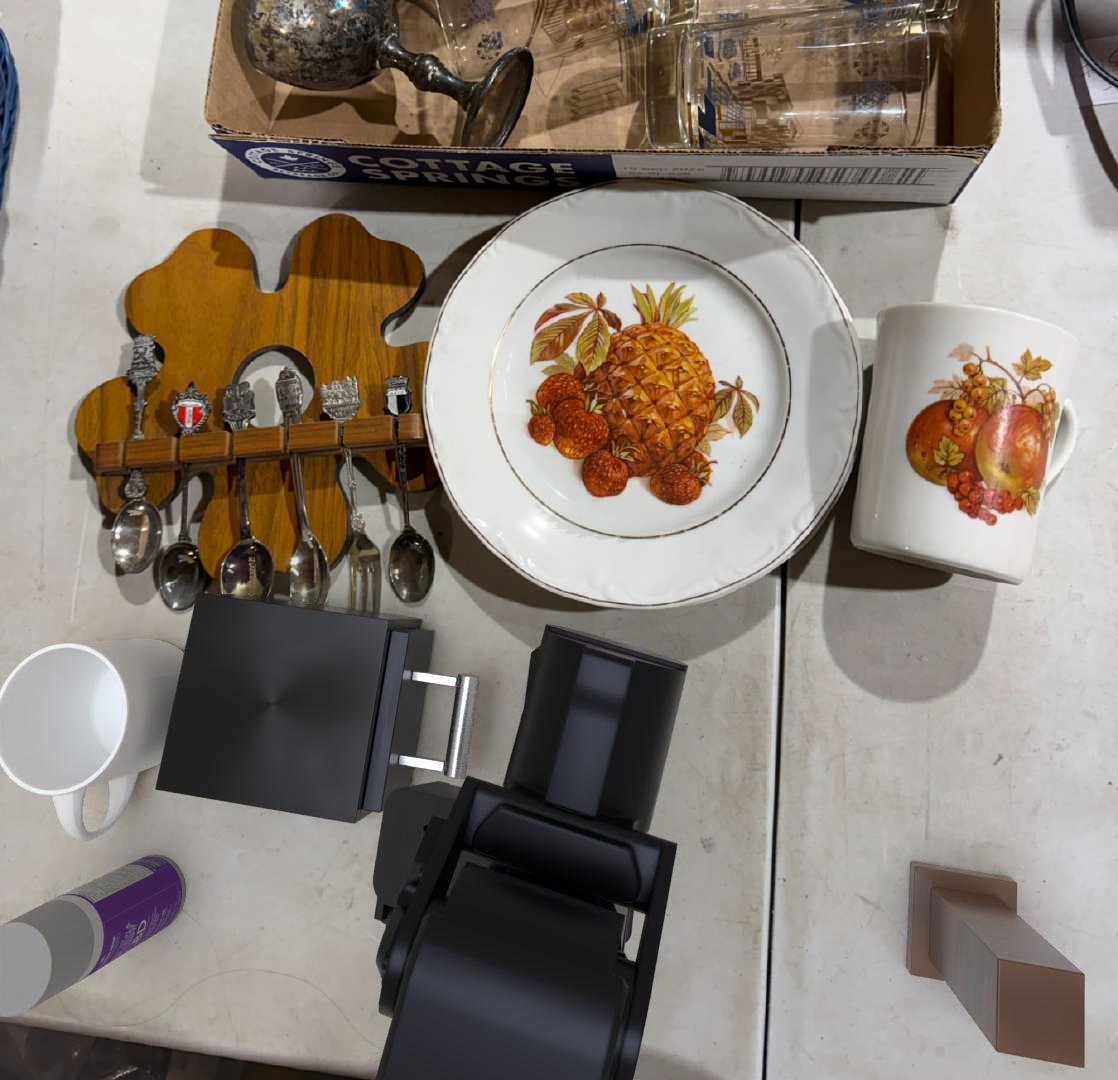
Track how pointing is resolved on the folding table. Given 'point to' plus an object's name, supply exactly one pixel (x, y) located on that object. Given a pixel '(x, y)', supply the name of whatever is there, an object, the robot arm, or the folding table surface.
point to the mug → (87, 721)
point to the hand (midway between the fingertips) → (588, 822)
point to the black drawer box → (277, 704)
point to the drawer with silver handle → (414, 718)
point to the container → (85, 930)
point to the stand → (995, 963)
